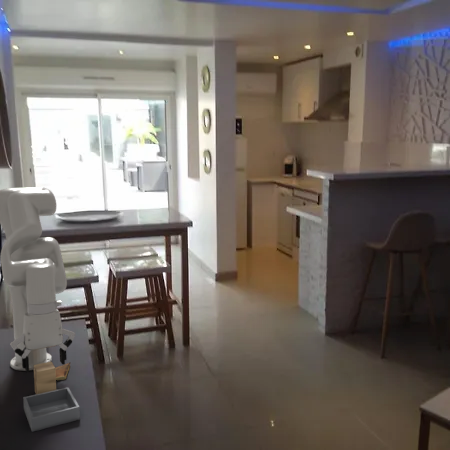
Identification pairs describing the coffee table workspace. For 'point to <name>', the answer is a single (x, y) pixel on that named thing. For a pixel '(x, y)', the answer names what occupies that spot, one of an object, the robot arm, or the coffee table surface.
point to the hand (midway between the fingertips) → (44, 366)
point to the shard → (62, 371)
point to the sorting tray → (51, 409)
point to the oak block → (44, 377)
